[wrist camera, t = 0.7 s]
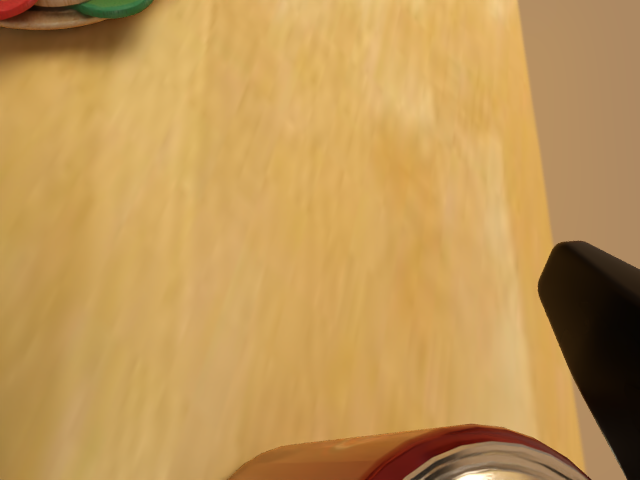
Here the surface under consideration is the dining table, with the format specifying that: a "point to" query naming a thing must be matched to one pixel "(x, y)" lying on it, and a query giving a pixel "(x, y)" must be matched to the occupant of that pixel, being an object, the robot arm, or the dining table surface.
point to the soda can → (416, 457)
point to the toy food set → (64, 12)
